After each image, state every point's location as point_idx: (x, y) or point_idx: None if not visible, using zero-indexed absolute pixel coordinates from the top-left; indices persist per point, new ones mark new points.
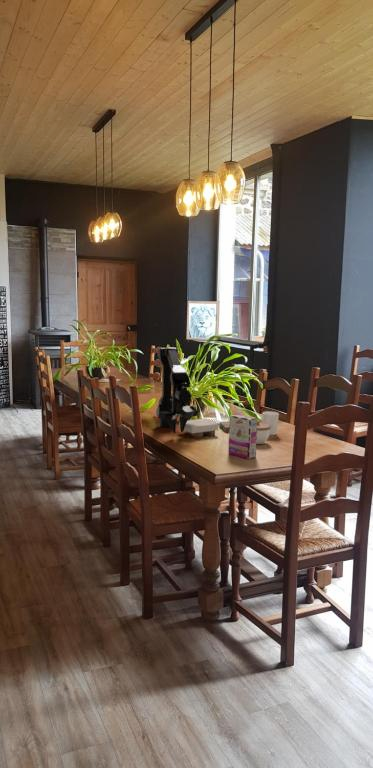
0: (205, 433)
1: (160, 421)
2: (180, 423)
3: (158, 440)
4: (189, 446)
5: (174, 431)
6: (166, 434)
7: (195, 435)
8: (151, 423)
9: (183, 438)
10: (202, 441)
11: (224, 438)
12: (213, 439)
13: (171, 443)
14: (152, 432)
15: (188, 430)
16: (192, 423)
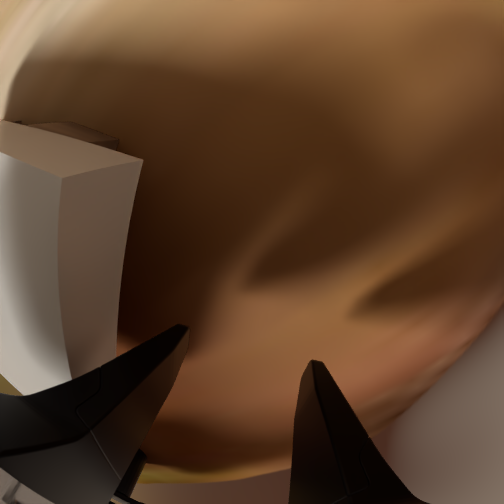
0: None
1: (138, 477)
2: (138, 438)
3: (444, 365)
4: (460, 10)
5: (331, 378)
6: (240, 416)
7: None
8: (151, 477)
9: (238, 248)
10: (189, 2)
11: (23, 23)
12: (70, 22)
13: (493, 222)
14: (264, 464)
15: (113, 273)
16: (1, 319)
